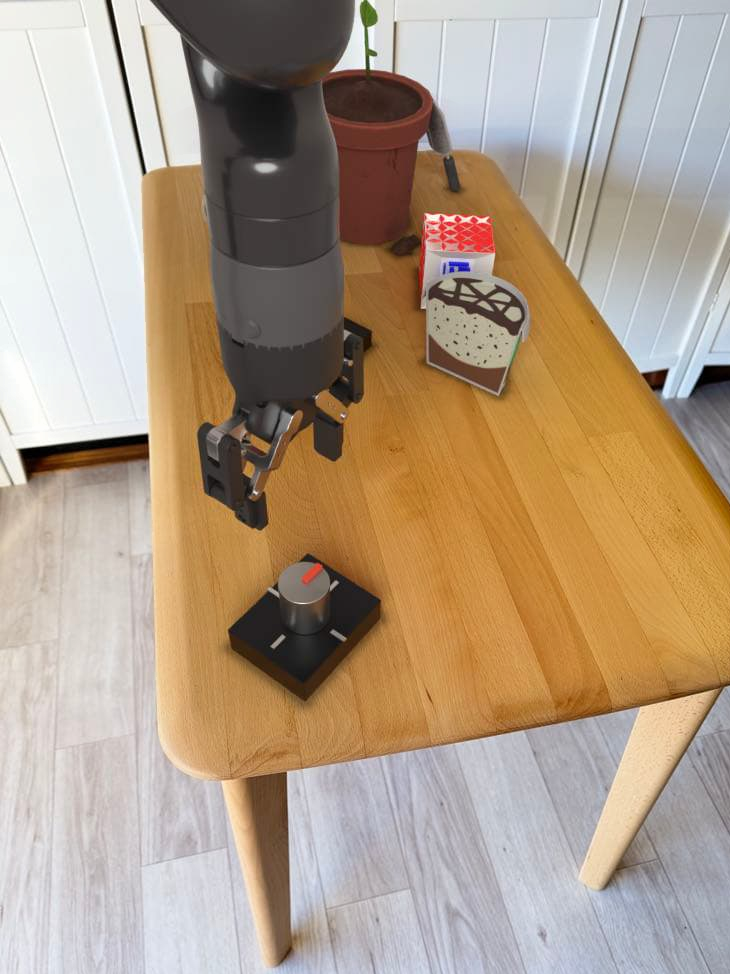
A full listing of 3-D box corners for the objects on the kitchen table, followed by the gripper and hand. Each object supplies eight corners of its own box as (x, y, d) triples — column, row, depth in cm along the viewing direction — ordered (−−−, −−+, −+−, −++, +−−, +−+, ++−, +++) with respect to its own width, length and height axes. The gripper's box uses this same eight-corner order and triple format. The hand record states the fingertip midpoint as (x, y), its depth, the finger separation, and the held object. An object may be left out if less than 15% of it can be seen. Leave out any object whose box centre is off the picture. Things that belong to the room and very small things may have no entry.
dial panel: (306, 703, 65) (304, 684, 62) (230, 648, 68) (226, 627, 65) (381, 619, 70) (382, 599, 68) (308, 572, 73) (306, 550, 70)
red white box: (481, 274, 103) (490, 216, 97) (485, 311, 99) (495, 253, 92) (418, 271, 103) (423, 212, 97) (420, 308, 98) (425, 249, 92)
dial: (308, 643, 65) (307, 610, 61) (271, 617, 66) (266, 583, 62) (340, 610, 67) (340, 576, 63) (303, 585, 68) (300, 551, 64)
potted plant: (307, 182, 115) (300, -23, 95) (459, 187, 117) (482, -14, 97) (304, 253, 104) (296, 37, 84) (472, 257, 106) (502, 47, 86)
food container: (536, 372, 92) (554, 296, 84) (510, 401, 89) (527, 325, 81) (442, 331, 96) (452, 255, 88) (415, 357, 92) (422, 281, 84)
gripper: (306, 228, 53) (312, 414, 65) (143, 335, 45) (186, 522, 58) (401, 272, 50) (389, 456, 63) (246, 392, 43) (267, 574, 55)
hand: (292, 487), depth 60 cm, fingers open, 8 cm apart
